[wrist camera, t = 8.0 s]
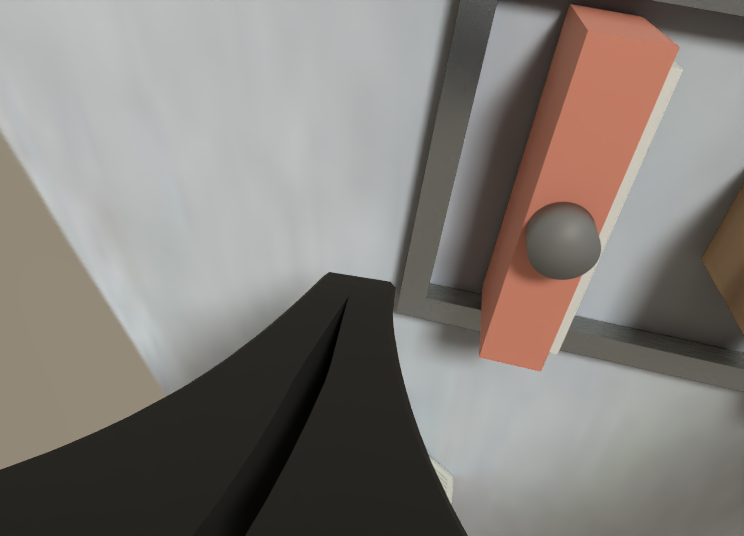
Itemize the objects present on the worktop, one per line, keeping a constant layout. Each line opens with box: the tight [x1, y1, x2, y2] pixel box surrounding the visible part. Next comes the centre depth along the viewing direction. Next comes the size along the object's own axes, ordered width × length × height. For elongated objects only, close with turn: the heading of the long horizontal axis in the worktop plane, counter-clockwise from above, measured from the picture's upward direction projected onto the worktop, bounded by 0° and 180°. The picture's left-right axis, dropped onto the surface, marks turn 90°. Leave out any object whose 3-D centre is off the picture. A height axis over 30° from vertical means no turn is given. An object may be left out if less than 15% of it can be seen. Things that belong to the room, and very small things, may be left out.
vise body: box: [396, 0, 744, 392], centre depth 17 cm, size 17×13×4 cm
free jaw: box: [479, 4, 683, 371], centre depth 16 cm, size 2×10×5 cm, turn 172°
